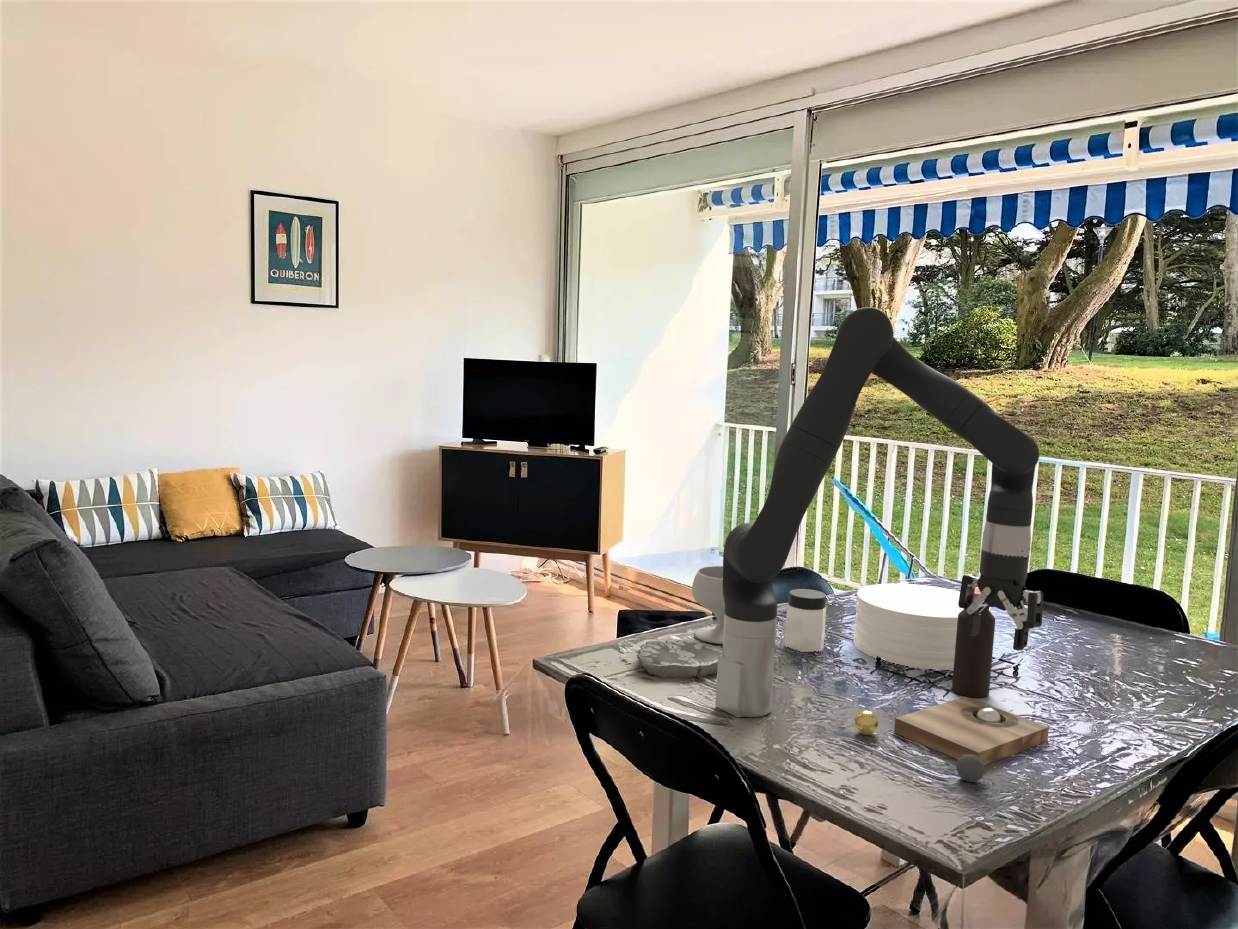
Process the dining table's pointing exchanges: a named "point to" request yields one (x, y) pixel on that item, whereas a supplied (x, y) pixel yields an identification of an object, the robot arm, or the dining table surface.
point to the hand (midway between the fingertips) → (995, 642)
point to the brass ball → (866, 722)
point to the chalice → (710, 601)
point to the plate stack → (908, 624)
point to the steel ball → (988, 715)
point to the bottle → (973, 655)
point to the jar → (805, 620)
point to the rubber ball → (970, 768)
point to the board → (970, 730)
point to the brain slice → (679, 658)
